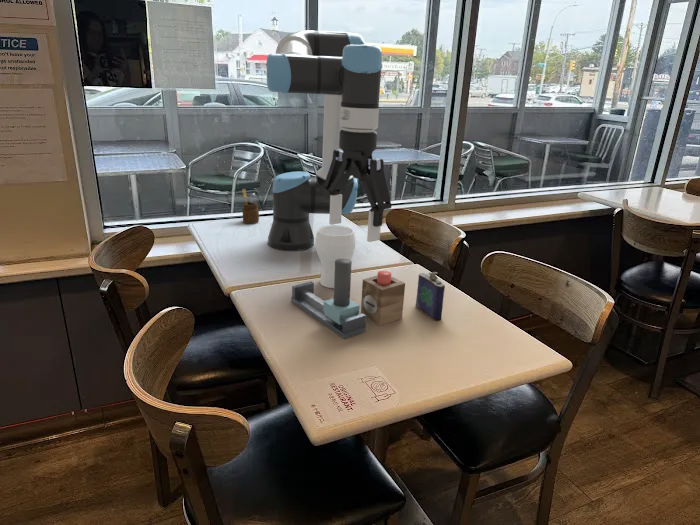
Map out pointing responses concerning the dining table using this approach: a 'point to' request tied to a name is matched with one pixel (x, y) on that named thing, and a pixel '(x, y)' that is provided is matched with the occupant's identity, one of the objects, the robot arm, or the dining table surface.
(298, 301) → the rail track
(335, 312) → the carriage
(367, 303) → the open wooden box
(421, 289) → the flask
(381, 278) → the button
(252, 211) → the utensil holder
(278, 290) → the dining table surface
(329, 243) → the cup
